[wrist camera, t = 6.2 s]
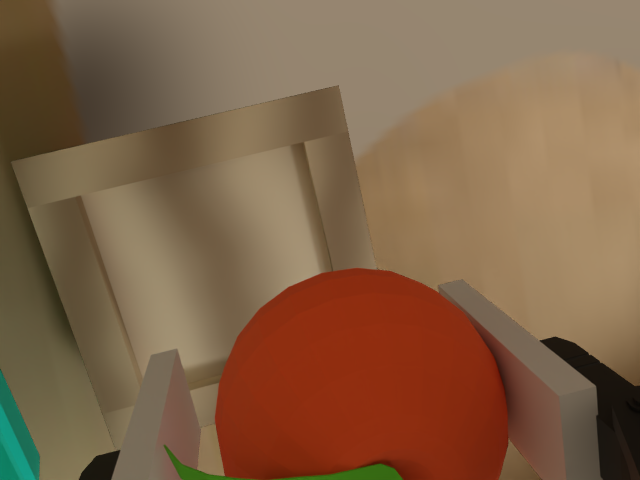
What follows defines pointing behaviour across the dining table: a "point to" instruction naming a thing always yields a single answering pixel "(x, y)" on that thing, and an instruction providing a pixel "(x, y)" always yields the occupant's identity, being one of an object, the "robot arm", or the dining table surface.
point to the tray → (193, 235)
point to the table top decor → (15, 441)
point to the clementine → (359, 387)
